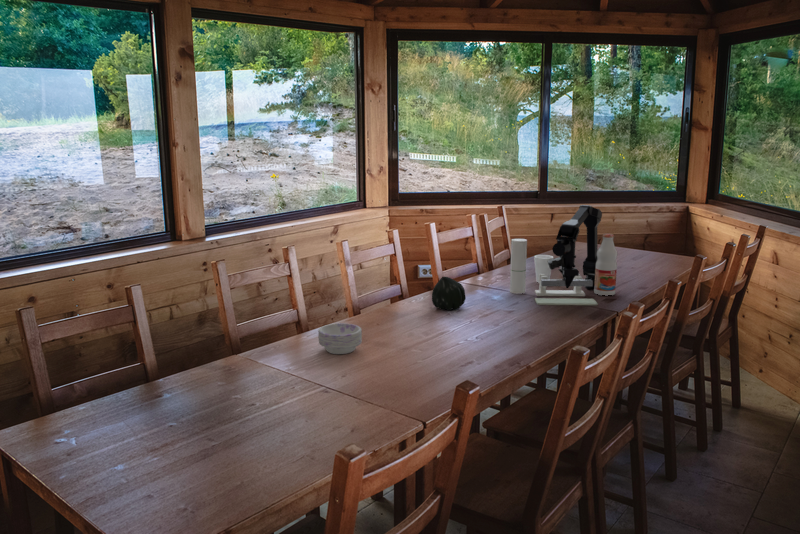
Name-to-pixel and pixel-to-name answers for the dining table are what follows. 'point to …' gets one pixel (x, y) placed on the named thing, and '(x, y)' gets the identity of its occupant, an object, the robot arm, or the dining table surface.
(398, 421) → the dining table surface
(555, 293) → the stand
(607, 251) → the fruit juice
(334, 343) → the paper bowls
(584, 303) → the pale sage plank
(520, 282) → the cylindrical container
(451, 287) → the squash
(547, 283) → the metal rail
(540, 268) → the foam cup
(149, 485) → the dining table surface
